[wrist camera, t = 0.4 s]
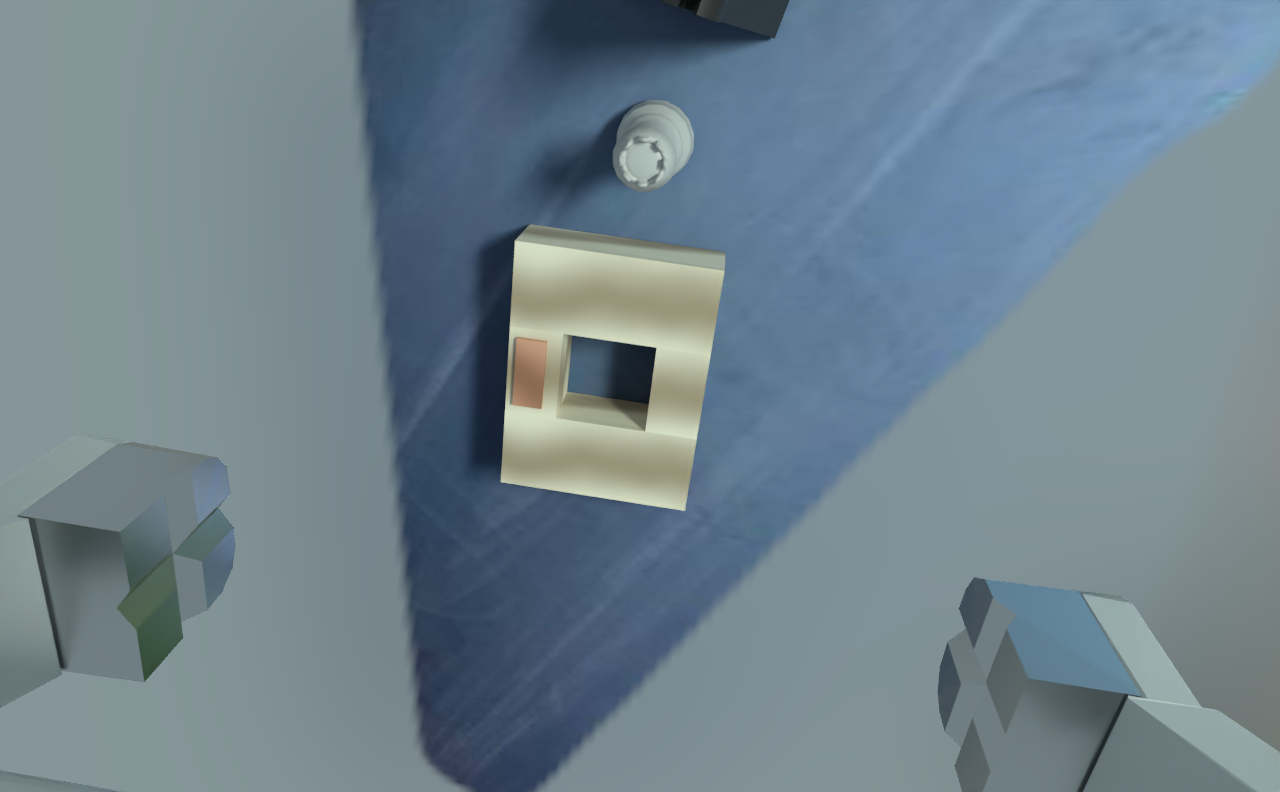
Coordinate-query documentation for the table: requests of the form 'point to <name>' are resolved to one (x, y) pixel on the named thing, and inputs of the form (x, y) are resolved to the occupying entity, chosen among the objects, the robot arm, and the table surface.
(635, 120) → the rook chess piece
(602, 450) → the socket block
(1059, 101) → the table surface
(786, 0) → the phone stand
